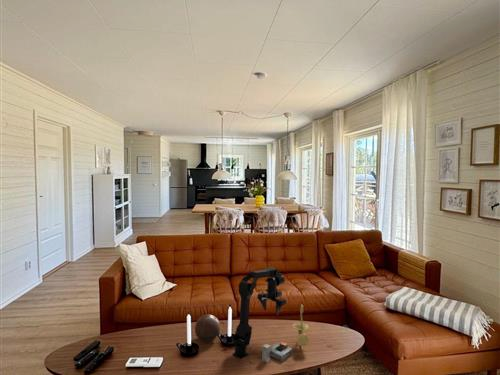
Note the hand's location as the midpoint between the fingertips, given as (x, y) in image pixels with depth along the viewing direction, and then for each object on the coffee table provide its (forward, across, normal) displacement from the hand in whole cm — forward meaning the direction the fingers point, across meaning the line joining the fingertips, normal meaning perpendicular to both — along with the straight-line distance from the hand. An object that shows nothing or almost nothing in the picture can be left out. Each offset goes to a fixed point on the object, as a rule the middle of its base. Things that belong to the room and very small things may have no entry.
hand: (271, 312), depth 193 cm
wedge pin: (+15, -14, +23) cm, 31 cm away
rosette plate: (+15, -16, +13) cm, 25 cm away
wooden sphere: (+15, +25, +30) cm, 42 cm away
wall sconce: (+15, -20, -3) cm, 25 cm away
